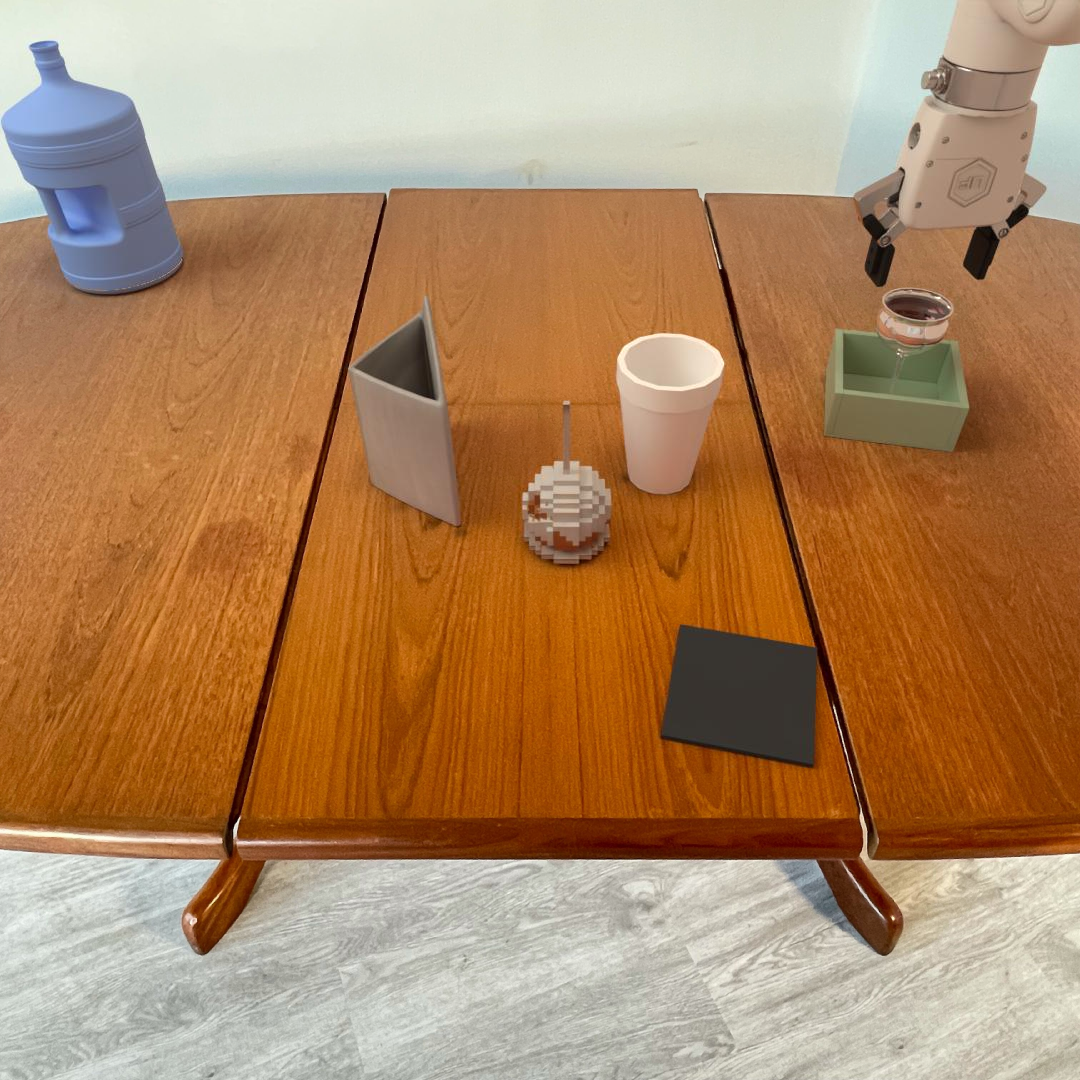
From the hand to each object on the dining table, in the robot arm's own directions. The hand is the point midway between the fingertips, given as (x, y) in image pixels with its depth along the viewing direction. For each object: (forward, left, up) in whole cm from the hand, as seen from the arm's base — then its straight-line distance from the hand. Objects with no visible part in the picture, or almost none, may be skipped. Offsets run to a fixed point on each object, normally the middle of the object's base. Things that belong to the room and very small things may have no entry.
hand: (923, 276), depth 84 cm
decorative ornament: (+29, +27, -15) cm, 43 cm away
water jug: (+100, -12, -15) cm, 102 cm away
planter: (+46, +22, -15) cm, 53 cm away
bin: (0, 0, -15) cm, 15 cm away
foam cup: (+22, +16, -15) cm, 31 cm away
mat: (+12, +41, -15) cm, 45 cm away
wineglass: (0, 0, -15) cm, 15 cm away
